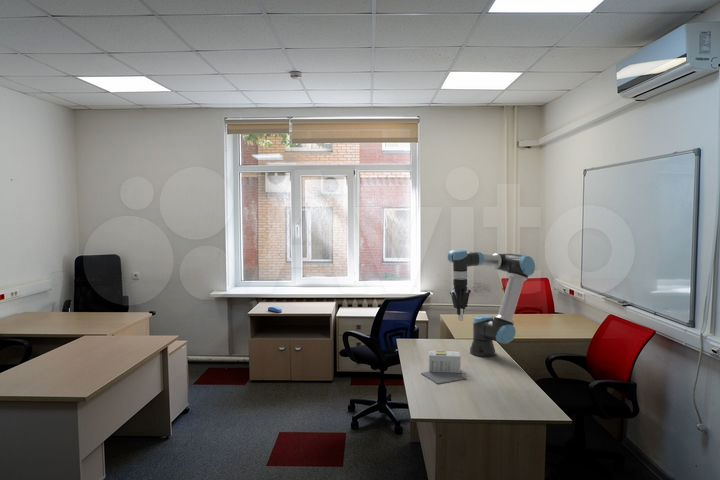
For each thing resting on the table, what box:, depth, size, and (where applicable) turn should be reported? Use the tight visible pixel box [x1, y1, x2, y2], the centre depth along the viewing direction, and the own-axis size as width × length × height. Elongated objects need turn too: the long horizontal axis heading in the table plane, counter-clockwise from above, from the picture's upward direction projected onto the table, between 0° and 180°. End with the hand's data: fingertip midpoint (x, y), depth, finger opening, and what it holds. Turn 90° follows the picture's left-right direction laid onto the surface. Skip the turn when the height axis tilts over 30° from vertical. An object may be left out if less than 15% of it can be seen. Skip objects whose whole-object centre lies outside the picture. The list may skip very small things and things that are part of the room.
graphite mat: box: [420, 371, 467, 385], centre depth 250 cm, size 18×16×1 cm
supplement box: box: [428, 350, 462, 374], centre depth 258 cm, size 10×9×17 cm
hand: (460, 320), depth 260 cm, fingers closed
